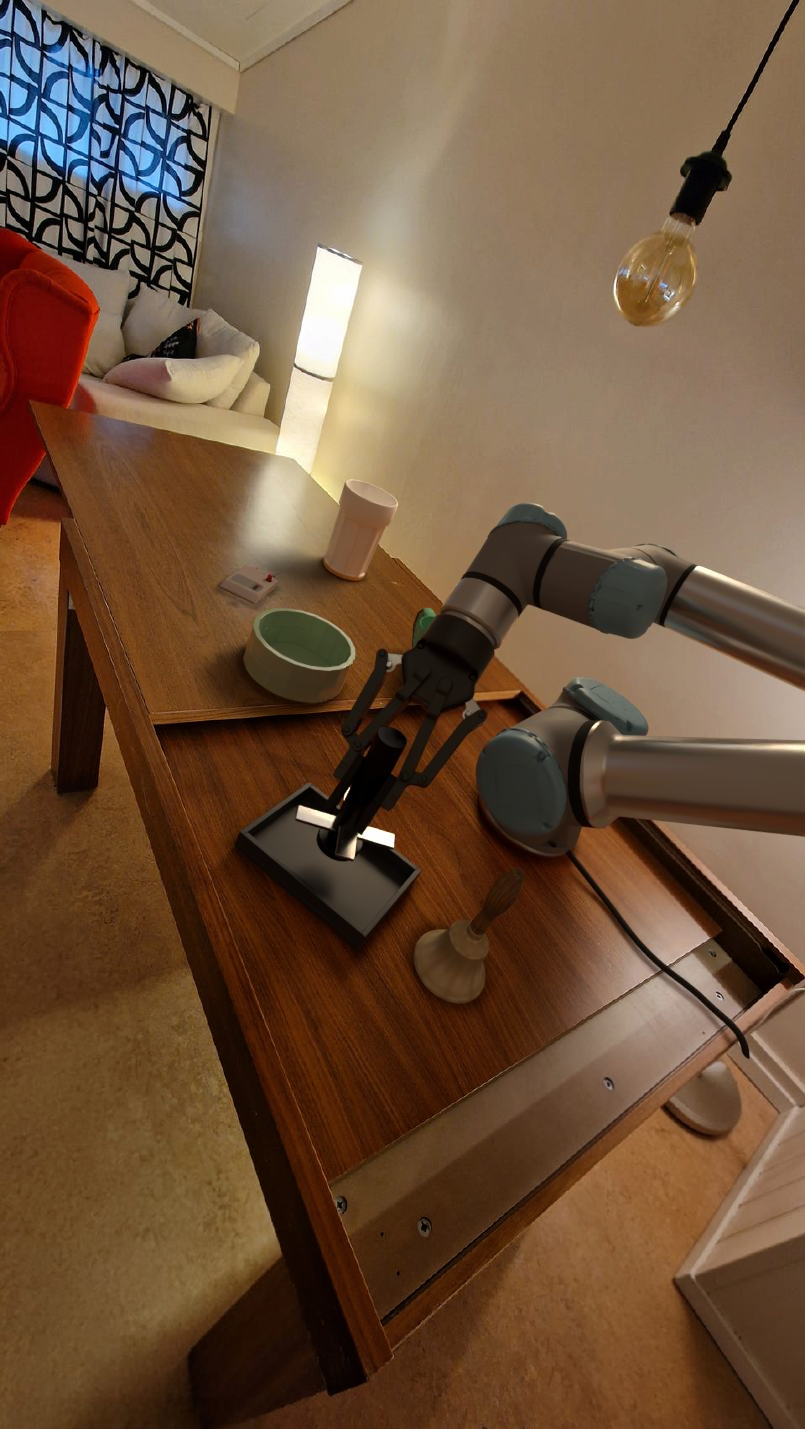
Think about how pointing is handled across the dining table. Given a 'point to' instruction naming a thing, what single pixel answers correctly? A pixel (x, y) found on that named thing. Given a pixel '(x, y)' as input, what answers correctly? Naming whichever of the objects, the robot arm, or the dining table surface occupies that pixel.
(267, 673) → the green bowl
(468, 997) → the hand bell
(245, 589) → the remote control
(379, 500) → the cup
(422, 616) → the mug
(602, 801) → the robot arm
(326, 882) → the tray
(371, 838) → the blade
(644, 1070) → the dining table surface
